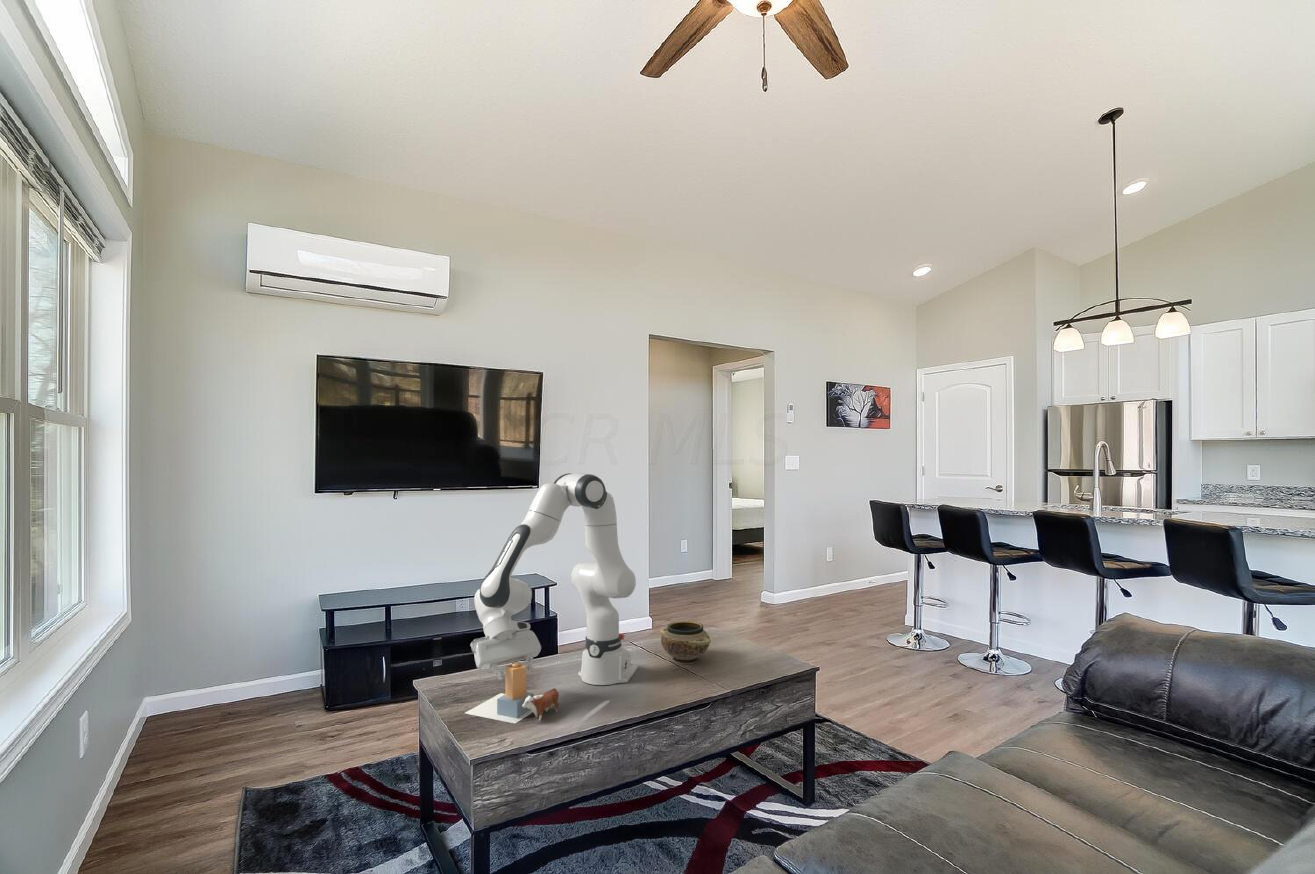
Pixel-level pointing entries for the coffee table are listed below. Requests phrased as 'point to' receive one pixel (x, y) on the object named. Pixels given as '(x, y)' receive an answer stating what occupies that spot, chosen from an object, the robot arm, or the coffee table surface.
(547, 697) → the bull figurine
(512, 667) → the tall brick
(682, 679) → the coffee table surface
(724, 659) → the coffee table surface
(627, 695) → the coffee table surface
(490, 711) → the baseplate
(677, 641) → the ceramic bowl
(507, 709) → the base block
